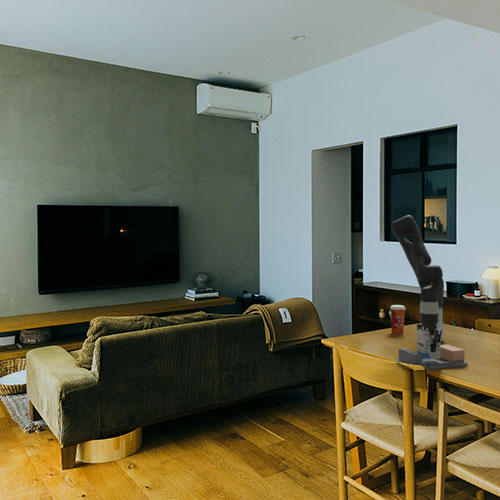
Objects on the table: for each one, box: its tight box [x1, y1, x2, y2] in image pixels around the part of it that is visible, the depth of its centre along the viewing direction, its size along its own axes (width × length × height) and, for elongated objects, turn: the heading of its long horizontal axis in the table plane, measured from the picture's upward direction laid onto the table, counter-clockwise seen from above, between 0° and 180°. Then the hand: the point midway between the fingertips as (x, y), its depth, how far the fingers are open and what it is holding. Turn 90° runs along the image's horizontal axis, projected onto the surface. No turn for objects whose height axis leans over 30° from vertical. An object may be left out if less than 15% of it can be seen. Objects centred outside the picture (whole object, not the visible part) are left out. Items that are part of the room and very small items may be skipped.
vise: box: [395, 347, 469, 371], centre depth 222 cm, size 26×14×6 cm, turn 108°
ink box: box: [416, 329, 442, 359], centre depth 222 cm, size 9×5×12 cm, turn 95°
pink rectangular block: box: [440, 344, 466, 361], centre depth 225 cm, size 6×11×5 cm, turn 18°
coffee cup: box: [389, 304, 406, 335], centre depth 285 cm, size 8×8×15 cm
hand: (428, 350), depth 222 cm, fingers closed on ink box, 5 cm apart
